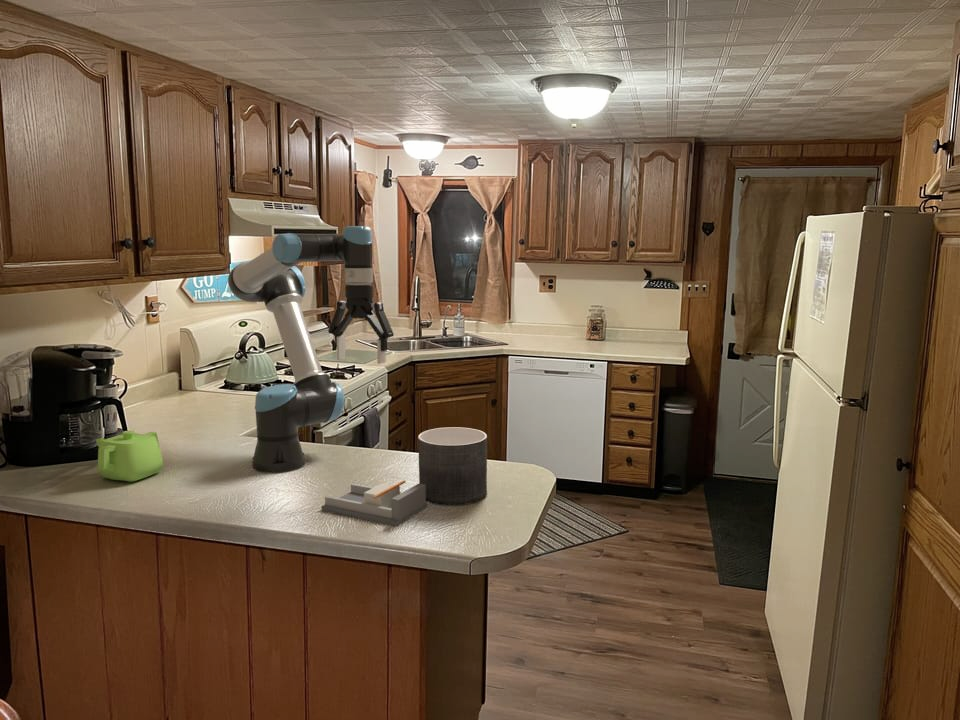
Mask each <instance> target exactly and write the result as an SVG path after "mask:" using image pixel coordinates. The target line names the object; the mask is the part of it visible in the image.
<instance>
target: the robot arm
mask: <svg viewBox="0 0 960 720" xmlns="http://www.w3.org/2000/svg"><path fill="white" fill-rule="evenodd" d="M311 262H313V263H314V262H316V263H318V262H320V263H321V262H343V263H344V282H345V283H346V284H345V286H344V292H345V294H344V296H345V299H346V301H345V300H338V301H336V309H335V312H334V315H333V317H332V320H331V321H330V322H331V323H330V325H329V328H328V334H331V335H333V336H334V347H335V348H336V357H337V360H338V361H341V360H345V359H346V336H345V335H344V332H345V331H346V329H347V328H348V327H349V325H350V324H351V322H352V321H353V320H354V319H364V320H365V321H367V322H368V324H369V326H370V327H371V328H372V330H373V332H374V333H375V334H376V336H377V338H378V339H376V350H377V351H376V353H377V356H376V357H377V359H376V360H377V364H379V365H380V364H383V363H386V352H387V351H388V339H389V338H392V337H394V336H395V334H394V331H393V329H392V326H391V325H390V322H389V320H388V317H387V316H386V315H387V314H386V313H385V310H384V303H383V302H382V301H378V302H373V298H374V286H373V284H372V283H373V282H374V271H373V270H374V269H373V238H372V229H371V227H369V226H365V225H350V226H349V225H347V226H344V228H343V233H292V232H287V233H280V234H279V233H278V234H277V235H276V236H275V237H274V239H273V241H272V246H271V247H270V248H269V249H267V250H265V251H264V252H263V253H261V254H259V255H258V256H256V257H254V258H252V259H251V260H250V261H244V262H240V263H239V264H237V265H236V266H235V267H233V268H232V269H231V270H230V272H229V274H228V277H227V284H228V288H229V290H230V292H231V293H232V294H233V296H235V297H236V298H238V299H239V300H242V301H244V302H248V303H264V305H265V307H266V308H265V309H266V310H267V311H268V312H270V313H272V314H273V317H274V320H275V322H276V326H277V329H278V332H279V334H280V338H281V341H282V344H283V347H284V350H285V354H286V356H287V359H288V362H289V365H290V368H291V371H292V374H293V377H294V382H293V384H291V383H283V384H275V385H271V386H267V387H264V388H262V389H260V390H259V391H258V392H257V393H256V395H255V400H254V401H255V404H254V410H255V420H256V421H255V422H256V437H257V439H256V440H257V441H256V446H255V449H254V453H253V456H252V459H251V463H252V469H253V470H255V471H258V472H260V473H285V472H289V471H294V470H298V469H300V468H302V467H303V466H305V464H306V454H305V452H303V447H302V445H301V443H300V439H299V428H300V427H307V426H311V425H317V424H322V423H328V422H331V421H335V420H338V418H339V417H340V416H341V414H342V413H343V409H344V405H345V395H344V390H343V388H342V386H341V385H340V384H339V383H338V382H334V381H332V380H331V377H330V375H329V374H328V373H326V372H324V371H323V369H322V367H321V363H320V361H319V357H318V354H317V351H316V348H315V345H314V343H313V340H312V336H311V333H310V331H309V328H308V325H307V321H306V320H305V317H304V313H303V310H302V308H301V304H302V302H303V299H304V298H303V297H304V296H305V293H306V286H305V285H306V280H305V278H304V275H303V273H302V272H301V270H300V269H299V268H298V267H297V265H299V264H301V263H311ZM346 309H347V311H346ZM373 311H374V312H373ZM345 312H346V313H345Z"/></svg>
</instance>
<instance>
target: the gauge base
mask: <svg viewBox="0 0 960 720" xmlns="http://www.w3.org/2000/svg"><path fill="white" fill-rule="evenodd" d="M374 487H375V486H370V485H364V484H363V485H362V484H358V483H351V484H350V492H348V493H346V494H344V495H341V496H339V497H336V496H332V495H331V496H330V495H326V496H324V505H321V511H324V512H329V513H332V514H339V515H343V516H348V517H352V518H357V519H360V520H361V519H363V520H366V521H371V522H376V523H381V524H386V525H391V526H395V527H398V526H399V525H400V524H402V523H404V522H406V521H408V520H409V519H410V518H412V517H414V516H415V515H417V514H419V513H420V512H422V511H423V510H425V509H427V508H429V502H427V501H426V485H424V484H419V483H417V484H415V485H414V486H412V487H410V488H408V489H407V490H404V491H403V492H402V491H401V492H400V494H399V495H397V496H395V497H393V498H392V499H391V507H389V508H387V507H382V506H377V505H372V504H367V503H364V492H366V491H368V490H370V489H372V488H374Z"/></svg>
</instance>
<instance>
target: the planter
mask: <svg viewBox="0 0 960 720" xmlns="http://www.w3.org/2000/svg"><path fill="white" fill-rule="evenodd" d="M417 440H418V442H417V443H418V477H419V478H418V479H419V481H418V482H419V483H418V484H424V485H426V503H431V504H434V505H440V506H464V505H469V504H474V503H477V502H480V501H482V500H483V499H485V498H486V496H487V495H488V486H487V485H488V484H487V483H488V481H487V479H488V474H487V473H488V434H487V433H486V432H484V431H482V430H479V429H475V428H470V427H455V426H454V427H453V426H452V427H449V426H448V427H438V428H437V427H436V428H433V429H428V430H424V431H423V432H421V433H420V434H418V437H417Z"/></svg>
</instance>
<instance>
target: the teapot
mask: <svg viewBox="0 0 960 720" xmlns="http://www.w3.org/2000/svg"><path fill="white" fill-rule="evenodd" d="M95 441H96V444H97V447H98V449H97V451H98V452H97V470H98V473H99V474H100V476H101V477H102V478H104V479H109V480H112V481H113V480H114V481H123V482H127V483H134V482H136V481H138V480H142V479H144V478H145V479H146V478H147V477H149V476H152V475H155V474H158V473H159V472H161V470H162V468H163V465H164V463H163V462H164V461H163V460H164V459H163V455H162V450H161V448H160V443H159V437H158V433H157V431H155V432H154V431H150V432H146V433H136V432H135V431H134V430H125V431H123V432H121V434H118V435H114V436H111V437H109V438H105V437H101V438H96V439H95Z"/></svg>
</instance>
